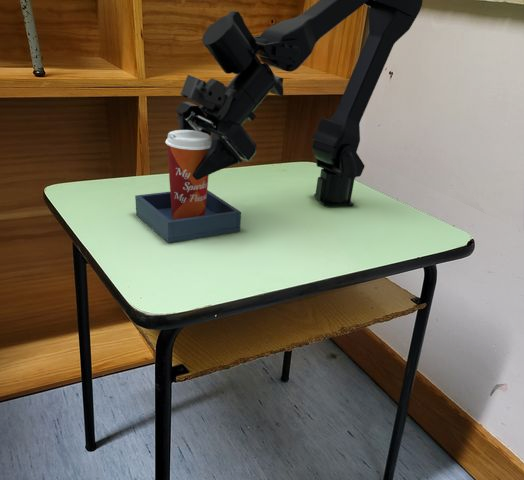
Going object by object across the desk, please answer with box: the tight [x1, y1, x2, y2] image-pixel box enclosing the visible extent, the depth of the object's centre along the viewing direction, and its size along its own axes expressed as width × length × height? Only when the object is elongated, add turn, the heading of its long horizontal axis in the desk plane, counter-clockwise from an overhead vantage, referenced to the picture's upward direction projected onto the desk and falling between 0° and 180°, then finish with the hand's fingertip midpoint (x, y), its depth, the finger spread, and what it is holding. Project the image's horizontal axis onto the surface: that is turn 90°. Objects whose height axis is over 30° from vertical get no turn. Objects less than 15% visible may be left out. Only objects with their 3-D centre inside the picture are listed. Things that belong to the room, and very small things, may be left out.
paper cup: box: [164, 129, 212, 220], centre depth 90 cm, size 8×8×14 cm
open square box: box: [134, 189, 242, 244], centre depth 93 cm, size 14×14×4 cm
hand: (181, 169), depth 88 cm, fingers open, 9 cm apart
